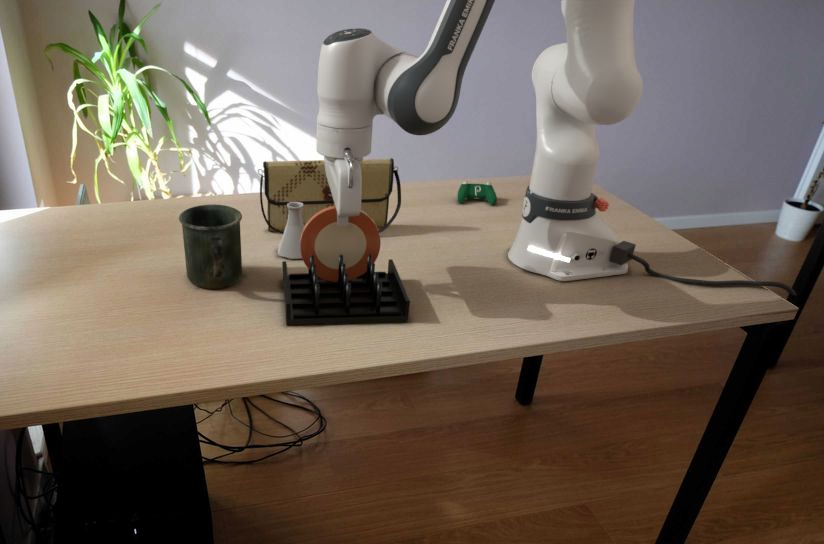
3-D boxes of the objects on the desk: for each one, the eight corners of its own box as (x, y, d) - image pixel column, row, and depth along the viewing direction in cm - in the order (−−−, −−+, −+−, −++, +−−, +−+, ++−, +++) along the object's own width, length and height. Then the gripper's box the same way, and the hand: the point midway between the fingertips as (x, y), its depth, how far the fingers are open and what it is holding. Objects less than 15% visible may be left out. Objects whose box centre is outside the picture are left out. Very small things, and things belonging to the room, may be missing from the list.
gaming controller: (494, 210, 159) (494, 187, 161) (497, 203, 156) (497, 179, 157) (455, 208, 160) (456, 185, 161) (458, 201, 156) (458, 178, 158)
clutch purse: (261, 241, 136) (259, 169, 128) (259, 228, 142) (256, 159, 134) (402, 235, 140) (408, 165, 132) (394, 223, 146) (399, 155, 138)
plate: (376, 278, 120) (382, 204, 112) (377, 281, 119) (383, 206, 111) (299, 279, 119) (299, 205, 111) (300, 283, 117) (300, 207, 110)
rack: (390, 278, 122) (393, 243, 119) (408, 322, 109) (411, 283, 105) (282, 281, 121) (282, 245, 117) (286, 325, 107) (285, 286, 103)
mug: (239, 261, 127) (236, 202, 121) (253, 296, 115) (250, 232, 109) (182, 267, 125) (176, 206, 118) (190, 303, 113) (183, 238, 106)
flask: (309, 262, 128) (309, 212, 123) (272, 258, 129) (271, 209, 124) (316, 247, 134) (317, 199, 129) (282, 243, 135) (281, 196, 130)
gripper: (373, 159, 97) (368, 246, 104) (355, 124, 114) (351, 201, 122) (330, 160, 97) (328, 247, 104) (319, 125, 114) (317, 201, 121)
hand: (341, 222), depth 113 cm, fingers closed on plate, 1 cm apart
